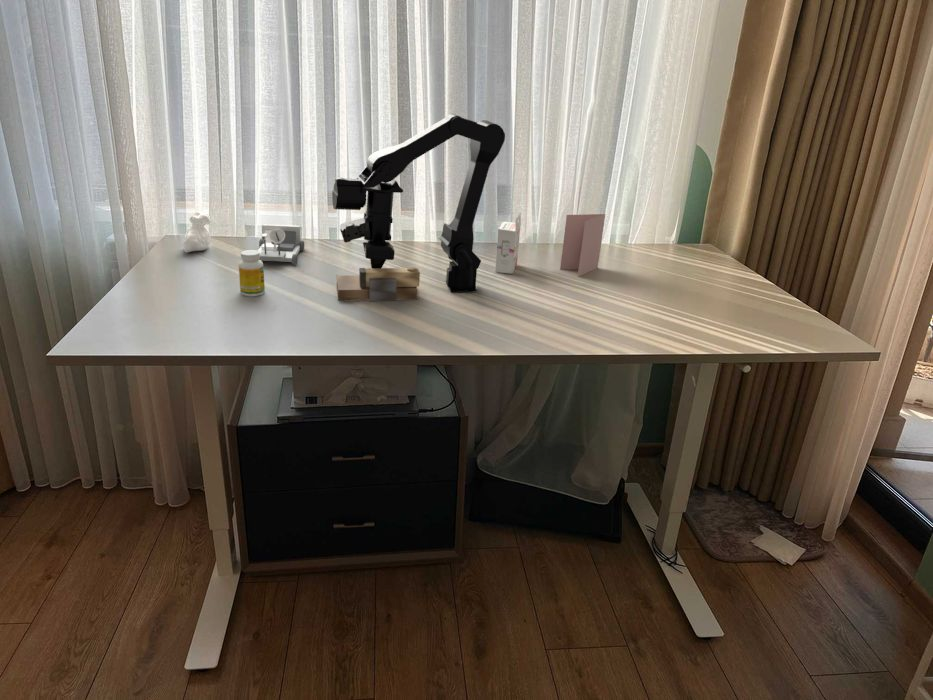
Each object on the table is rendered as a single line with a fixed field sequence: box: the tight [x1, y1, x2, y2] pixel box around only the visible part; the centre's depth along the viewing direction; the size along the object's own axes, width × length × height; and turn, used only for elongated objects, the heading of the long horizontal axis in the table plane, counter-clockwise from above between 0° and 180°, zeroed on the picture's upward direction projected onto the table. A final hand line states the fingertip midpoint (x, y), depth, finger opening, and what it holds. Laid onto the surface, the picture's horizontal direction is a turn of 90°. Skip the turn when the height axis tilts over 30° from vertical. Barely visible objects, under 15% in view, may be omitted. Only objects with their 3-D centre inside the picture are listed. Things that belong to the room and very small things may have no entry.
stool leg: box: [358, 266, 421, 288], centre depth 164 cm, size 14×3×4 cm, turn 103°
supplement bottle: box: [238, 249, 265, 297], centre depth 160 cm, size 5×5×10 cm
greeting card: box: [559, 213, 606, 277], centre depth 189 cm, size 11×7×15 cm, turn 108°
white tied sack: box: [182, 210, 212, 253], centre depth 187 cm, size 12×8×11 cm
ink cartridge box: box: [494, 212, 522, 275], centre depth 187 cm, size 9×5×15 cm, turn 168°
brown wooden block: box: [336, 275, 419, 302], centre depth 166 cm, size 18×11×5 cm, turn 102°
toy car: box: [257, 223, 305, 266], centre depth 185 cm, size 18×10×12 cm
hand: (374, 276), depth 166 cm, fingers closed
